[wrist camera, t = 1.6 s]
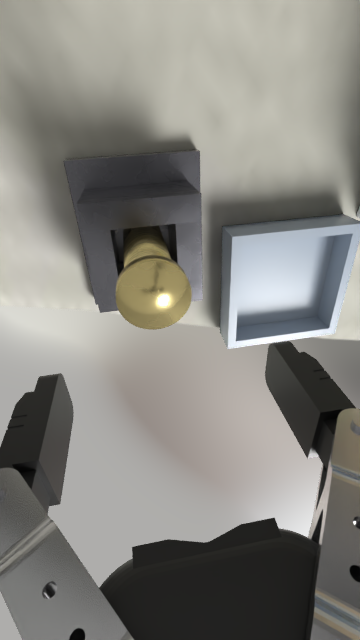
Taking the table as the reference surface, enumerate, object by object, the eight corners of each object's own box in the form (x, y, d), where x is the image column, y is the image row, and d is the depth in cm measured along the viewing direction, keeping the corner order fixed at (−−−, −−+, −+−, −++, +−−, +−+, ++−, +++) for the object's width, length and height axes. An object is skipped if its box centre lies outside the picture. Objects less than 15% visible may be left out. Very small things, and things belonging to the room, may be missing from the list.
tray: (222, 226, 28) (232, 236, 26) (343, 214, 30) (363, 223, 27) (219, 332, 35) (227, 348, 32) (319, 318, 36) (334, 333, 34)
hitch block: (65, 159, 24) (51, 170, 19) (196, 149, 25) (216, 158, 20) (96, 299, 30) (92, 335, 25) (199, 287, 31) (214, 319, 26)
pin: (113, 212, 25) (109, 266, 16) (165, 207, 26) (190, 257, 17) (120, 261, 28) (121, 333, 19) (168, 256, 28) (192, 324, 19)
